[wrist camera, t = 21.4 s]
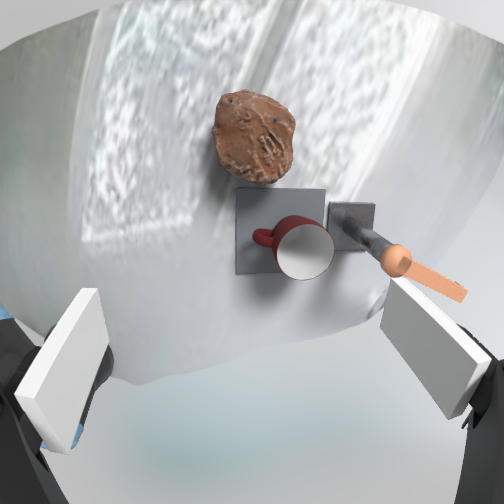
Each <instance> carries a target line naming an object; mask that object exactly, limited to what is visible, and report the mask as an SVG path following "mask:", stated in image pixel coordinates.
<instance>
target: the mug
mask: <svg viewBox="0 0 504 504" xmlns="http://www.w3.org/2000/svg"><path fill="white" fill-rule="evenodd" d="M252 239H253V241H254V242H255V243H257V244H258V245H261V246H264V247H269V248H272V251H273V254H274V257H275V260H276V262H277V264H278V266H279V267H280V269H281V270H282V272H283V273H284V274H285V275H287V276H288V277H290V278H292V279H295V280H310V279H313V278H315V277H317V276H319V275H321V274H322V273H323V272H324V271H325V270H326V269H327V268H328V267H329V265H330V264H331V262H332V260H333V257H334V251H335V247H334V241H333V239H332V237H331V235H330V234H329V232H328V231H327V230H326V229H325V228H324V227H323V226H322V225H321V224H319V223H318V222H316V221H314V220H312V219H309V218H306V217H303V216H299V215H290V216H287V217H284V218H283V219H281V220H280V221H279V222H278V223H277V224H276V226H275V227H274V229H273V230H270V229H263V228H259V229H256V230H254V232H253V234H252Z"/></svg>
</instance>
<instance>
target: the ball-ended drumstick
mask: <svg viewBox="0 0 504 504" xmlns="http://www.w3.org/2000/svg"><path fill="white" fill-rule="evenodd" d="M380 265H381V268H382V269H383V271H385V272H386V273H387V274H388V275H389V276H390V277H393V278H398V277H401V276H403V275H404V276H407V277H409V278H411V279H413V280H415V281H417V282H419V283H421V284H423V285H425V286H428V287H429V288H431V289H434V290H435V291H437V292H439V293H442V294H444V295H446V296H448V297H450V298H452V299H454V300H456V301H458V302H460V303H461V302H462V301H463V299H464V297H465V296H466V294H467V292H468V291H467V290H466V289H465V288H464V287H462V286H461V285H459V284H458V283H457V282H452V281H451V280H449V279H448V278H446V277H444V276H442V275H440V274H439V273H437V272H435V271H433V270H431V269H430V268H428V267H426V266H424V265H422V264H420V263H418V262H417V261H415V260H413V259H412V256H411V254H410V252H409V251H408V250H407V249H405V248H404V247H403V246H401V245H399V244H393V245H391V246H389V247H387V248H386V249H385V250H384V252H383V253H382V256H381V259H380Z"/></svg>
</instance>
